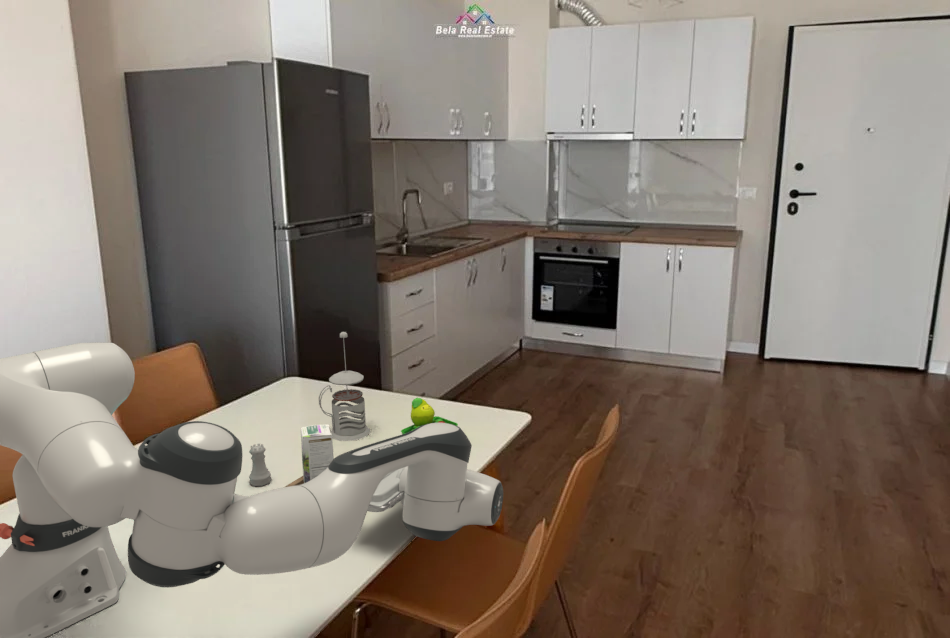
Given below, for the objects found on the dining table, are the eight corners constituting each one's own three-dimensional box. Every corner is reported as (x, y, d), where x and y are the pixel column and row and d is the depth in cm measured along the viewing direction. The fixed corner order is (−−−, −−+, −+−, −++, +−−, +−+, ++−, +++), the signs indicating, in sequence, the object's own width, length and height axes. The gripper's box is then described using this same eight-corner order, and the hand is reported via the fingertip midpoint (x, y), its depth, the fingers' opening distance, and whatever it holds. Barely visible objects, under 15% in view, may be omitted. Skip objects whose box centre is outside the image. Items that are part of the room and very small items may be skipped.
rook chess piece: (265, 488, 146) (261, 451, 144) (245, 486, 147) (241, 450, 145) (275, 477, 150) (272, 442, 148) (256, 476, 151) (252, 441, 149)
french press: (375, 436, 170) (369, 334, 163) (325, 445, 165) (317, 340, 159) (365, 421, 178) (359, 324, 172) (318, 429, 174) (310, 330, 168)
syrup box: (304, 494, 143) (298, 426, 139) (334, 490, 144) (329, 422, 141) (306, 508, 137) (300, 438, 134) (337, 503, 139) (332, 433, 135)
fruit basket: (423, 461, 156) (421, 412, 154) (396, 449, 162) (394, 402, 160) (460, 444, 164) (458, 398, 162) (433, 434, 170) (432, 389, 168)
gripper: (386, 527, 120) (322, 509, 127) (448, 477, 137) (389, 463, 144) (384, 493, 119) (319, 476, 125) (447, 446, 136) (387, 434, 142)
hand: (357, 469), depth 135 cm, fingers open, 8 cm apart
